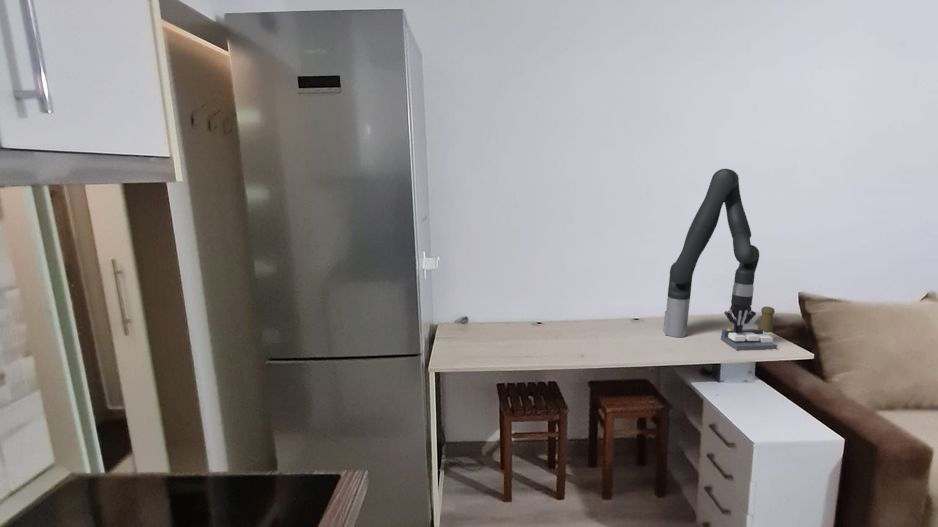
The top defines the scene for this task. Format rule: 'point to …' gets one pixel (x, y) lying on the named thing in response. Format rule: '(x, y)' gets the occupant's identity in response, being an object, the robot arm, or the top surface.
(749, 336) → the middle key
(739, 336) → the inner key
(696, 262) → the robot arm
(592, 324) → the top surface
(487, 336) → the top surface
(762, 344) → the keypad
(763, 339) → the outer key
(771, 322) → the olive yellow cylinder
